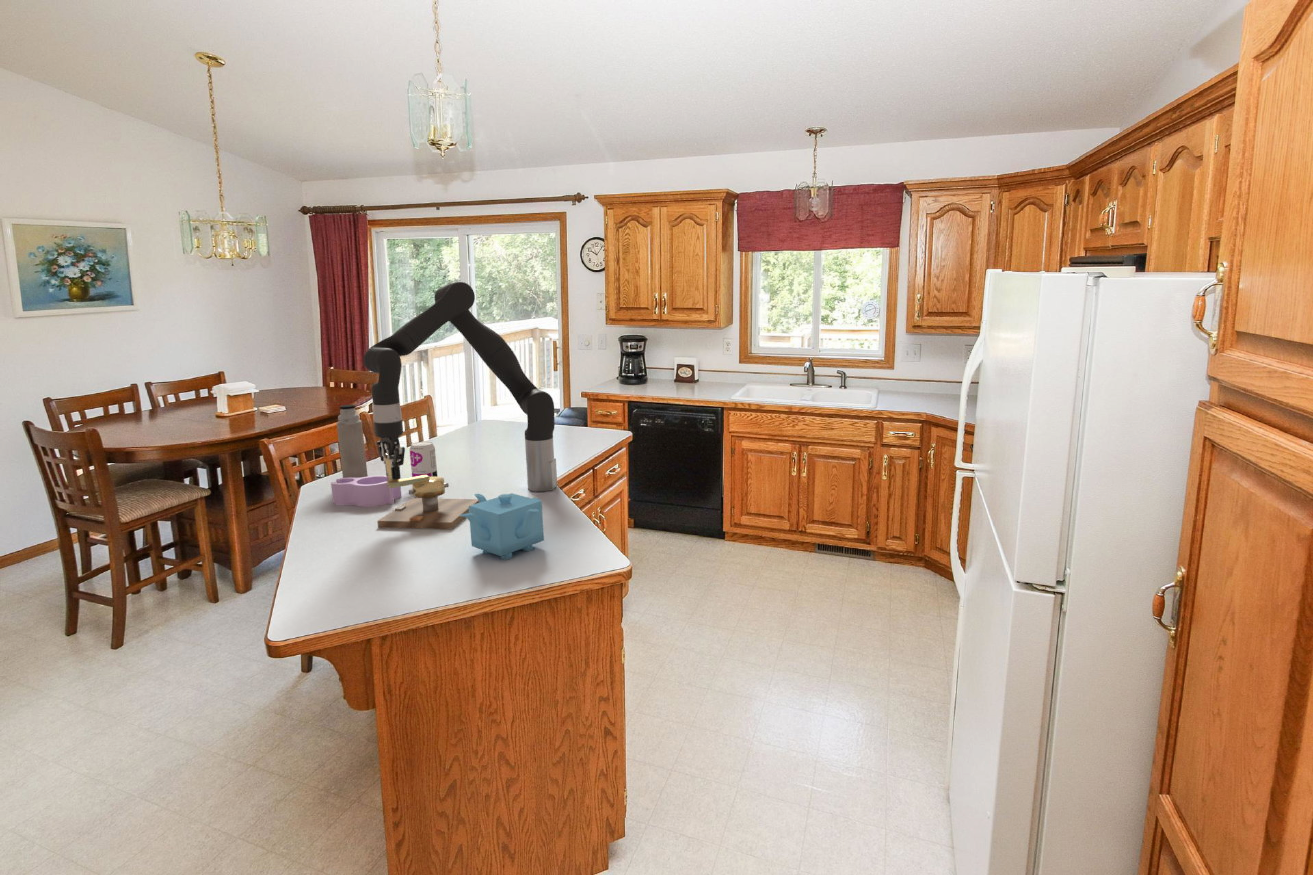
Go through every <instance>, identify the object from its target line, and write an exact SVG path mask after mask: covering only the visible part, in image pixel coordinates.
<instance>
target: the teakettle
mask: <svg viewBox="0 0 1313 875" xmlns="http://www.w3.org/2000/svg"><path fill="white" fill-rule="evenodd" d="M474 496H475V498H476V499H478V500H479V503H477V504H474V505H471V506H469V513H466V514H462V515H460V516H462V517H466V518H465V519H467V520H468V522H469V527H470V529H469V530H470V540H471V543H470V544H471V547H472V548H476V549H478V550H481V551H482V553H483V554H492V555H493V554H494V555H495V556H498V557H500V559H501V560H509V559H512V558H513V553H514V552H516V551H520V550H522V551H524V552H525V551H526V552H530V551H534V550H535V548H534V546H533V545H535V544H538V543H541V542H543V541H545V536H544V517H543V502H542V500H541V499H540V498H537V497H528V496H524V495H520V494H517V493H505V494H500V495H498V497H494V498H491V499H488V500H487V498H486V497H485V496H484V495H483V494H482V493H474Z"/></svg>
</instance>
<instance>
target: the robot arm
mask: <svg viewBox="0 0 1313 875" xmlns="http://www.w3.org/2000/svg"><path fill="white" fill-rule="evenodd" d="M433 299H434V304H432V305H431V306H429V307H428V308H427V309H425V310H424V311H423V312H421V313H419V314H417V315H416V316H414V318H412V319H411V320H409V321H407V322H406V323H404V324H403V325H402V326H401V327H400V328H399V329H397V330H396V331H395V332H394V333H393V334H391V335H390V336H388V337H386V338H383V339H382V340H380V341H378V342H377V343H374V344H373V345H372V346H371V347H369V348H368V349H367V351H365V353H364V356H363V358H362V360H363V361H362V362H363V366H364V367H365V369H366V370H367V371H369V372H371V373H375V374H378V381H377V382H374V383H373V384H372V386H371V398H372V417H373V427H374V436H375V437H376V438H379V439H380V440H378V441H376V447H377V450H378V451H377V452H378V454H379V458H380V461H381V462H383V465H384V466H385V468H386V460H385V458H387V457H388V459H389V460H390V464H391V473H392V479H393V480H397V479H402V478H401V469H400V468H401V467H400V466H403V465H404V463H405V455H406V454H405V453H406V452H405V451H406V448H405V446H401V443H400V438H399V437H400V436H402V435H403V434H404V425H403V416H402V408H401V405H400V404H401V402H400V394H399V385H400V380H401V374H402V358H401V357H404V356H409V355H410V354H413V352H414V351H415V350H417V349H418V348H419V347H420V346H421V345H422V344H423V343H424V342H426V340H428V339H429V338H430V337H431V336H432V335H433V334H435V332H437V331H438V330H439V329H441V328H442V327H443V326H444V325H445V324H447V323H448V322H450V323H451V324H452V325H453V327H455V329H456V330H457V331H458V332H459V333H460V334H461V335H462V336H463V338H465V340H466V341H467V342H468V344H469V345H470V346H471V347H472V349H473V350H474V351H475V352H476V353H477V355H478V356H479V357H480V359H481V360H482V361H483V362H484V364H485V365H486V366H487V367H488V369H489V370H490V371H491V372H492V373H493V375H495V376H496V378H497V379H499V381H501V383H502V384H503V385H504V386H505V387H506V388H507V389H508V391H509V392H510V394H511V396H512V397H513V399H514V400H515V401H516V403H517V405H518V406H519V408H520V409H521V410H522V412H523V413H524V414H525V415H527V416H526V417H527V418H526V419H527V428H526V429H525V430H524V445H525V461H526V463H525V464H526V476H527V477H526V478H527V489H528V491H531V492H549V491H554V490H555V489H556V488H557V486H558V474H557V472H558V470H557V459H556V458H555V452H554V449H555V448H554V447H555V446H554V431H555V403H554V399H553V397H552V396H551V394H549V393H548V392H547V391H544V390H541V389H540V388H538V387H537V386H536V385H535V384H534V383H533V382H532V381H531V380H530V378H528V377H527V375H526V374H525V373H524V370H523V368H522V367H521V364H520V362H519V359H518V358H517V356H516V354H515V352H514V351H513V349H512V348H511V347H510V346H509V344H508V343H507V342H506V340H505V339H504V338H503V337H502V336H501V335H500V334H499V333H497V332H496V331H494V330H493V329H492V328H489V327H488V326H487V325H485V324H483V323H482V322H481V321H480V320H478V319H477V318H476V317H475V316H474V314H473V313H472V312H471V311H470V309H471V308H472V307H473V305H474V303H475V301H476V300H475V299H476V296H475V291H474V290H473V287H471V285H470V284H468V283H467V282H465V281H462V280H461V281H459V280H458V281H453V282H450V283H448V284H446V285H443V286H441V287H439V288H438V289H437V290H436V291H435V294H434V298H433ZM393 459H394V461H393ZM385 475H386V476H387V470H386V469H385Z"/></svg>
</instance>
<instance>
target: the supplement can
mask: <svg viewBox="0 0 1313 875" xmlns="http://www.w3.org/2000/svg"><path fill="white" fill-rule="evenodd" d="M433 443H434V442H432V441H417V442H412V443H411V444H410V447H409V459H410V468H411V477H416V476H422V475H428V476H429V477H431V476H436V477H439V475H438V467H437V466H438V465H437V455H436V447H435V444H433Z"/></svg>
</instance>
